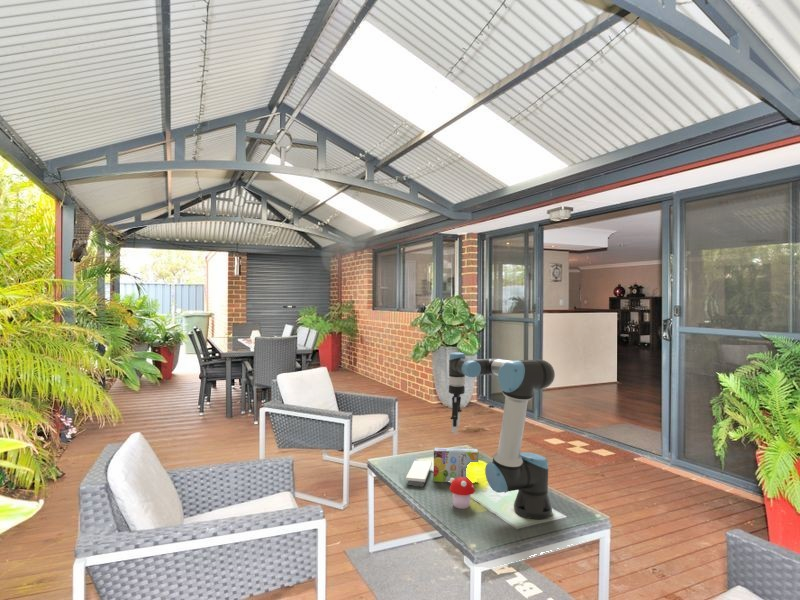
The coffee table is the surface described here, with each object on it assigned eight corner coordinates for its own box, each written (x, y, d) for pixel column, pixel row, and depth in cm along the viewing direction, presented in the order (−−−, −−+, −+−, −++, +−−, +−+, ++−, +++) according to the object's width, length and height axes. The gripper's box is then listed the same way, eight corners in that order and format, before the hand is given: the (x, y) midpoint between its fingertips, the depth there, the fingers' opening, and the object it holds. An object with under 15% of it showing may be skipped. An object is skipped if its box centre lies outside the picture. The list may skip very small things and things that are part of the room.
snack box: (477, 479, 234) (477, 448, 233) (478, 484, 228) (478, 452, 228) (433, 477, 236) (433, 446, 236) (433, 482, 230) (433, 450, 230)
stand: (424, 487, 223) (425, 479, 223) (405, 486, 224) (405, 477, 224) (431, 469, 246) (431, 461, 246) (414, 468, 248) (414, 460, 248)
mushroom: (450, 499, 211) (450, 471, 211) (475, 501, 209) (475, 473, 209) (447, 509, 200) (448, 480, 200) (474, 512, 198) (475, 482, 198)
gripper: (451, 380, 245) (450, 421, 245) (446, 389, 220) (445, 435, 220) (466, 380, 243) (465, 422, 243) (462, 390, 219) (462, 437, 219)
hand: (455, 429), depth 232 cm, fingers open, 13 cm apart
